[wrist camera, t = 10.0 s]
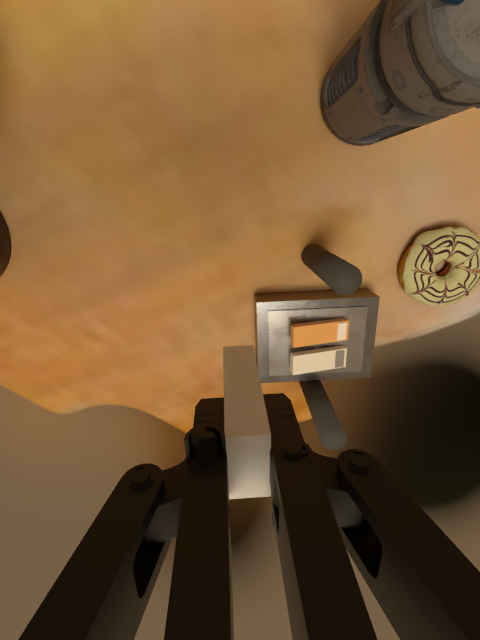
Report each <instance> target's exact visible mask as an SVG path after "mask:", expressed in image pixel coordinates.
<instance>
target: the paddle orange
mask: <svg viewBox="0 0 480 640" xmlns="http://www.w3.org/2000/svg"><path fill="white" fill-rule="evenodd" d="M348 329H349V320H348V319H346V318H339V319H332V320H324V321H316V322H308V323H300V324H292V325H291V346H292V347H293V348H295V347H303V346H310V345H317V344H324V343H331V342H338V341H345V340H348Z"/></svg>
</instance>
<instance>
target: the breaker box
mask: <svg viewBox="0 0 480 640" xmlns="http://www.w3.org/2000/svg"><path fill="white" fill-rule="evenodd" d="M254 295H255V331H256V363H257V368H258V373H259V378H260V383H270V382H290V381H310V380H330V379H350V378H369V377H371V368H372V360H373V350H374V342H375V333H376V324H377V315H378V306H379V296H378V295H376V294H375V293H373V292H372V291H371V290H369V289H357V290H356V291H355V292H354V293H352V294H349V295H340V294H338V293H336V292H335V291H334V290H327V291H306V292H285V293H264V294H254ZM339 318H346V319H348V320H349V329H348V340H345V341H338V342H331V343H324V344H317V345H310V346H303V347H295V348H293V347H292V346H291V325H292V324H300V323H308V322H316V321H324V320H332V319H339ZM342 345H343V346H345V347H346V348H347V355H346V367H342V368H336V369H330V370H323V371H317V372H311V373H304V374H298V375H292V373H291V372H290V353H293V352H300V351H307V350H314V349H321V348H328V347H335V346H342Z"/></svg>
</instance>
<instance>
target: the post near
mask: <svg viewBox="0 0 480 640" xmlns="http://www.w3.org/2000/svg"><path fill="white" fill-rule="evenodd" d="M301 258H302V261H303V263H304V264H305V265H306V266H307V267H308V268H310V269H311V270H312V271H313V272H314V273H315V274H316V275H317V276H318V277H320V278H321V279H322V280H323V281H324V282H325V283H326V284H327V285H328V286H329V287H331V288H332V289H333V290H334V291H335V292H336V293H338V294H340V295H349V294H352V293H354V292H355V291H356V290H357V289H358V288H359V286H360V285H361V282H362V275H361V272H360V270H359V269H358V268H357V267H355V266H354V265H352V264H350V263H348V262H347V261H345V260H343V259H341V258H339V257H338V256H336V255H334V254H332V253H330V252H329V251H327V250H325V249H323V248H322V247H320V246H318V245H315V244H312V245H308V246H307V247H305V248H304V250H303V252H302V255H301Z"/></svg>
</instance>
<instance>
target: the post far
mask: <svg viewBox="0 0 480 640" xmlns="http://www.w3.org/2000/svg"><path fill="white" fill-rule="evenodd" d="M299 383H300V385H301V388H302V391H303V394H304V396H305V399H306V402H307V404H308V407H309V410H310V413H311V415H312V418H313V421H314V423H315V426H316V429H317V432H318V435H319V437H320V440H321V443H322V445H323V447H324V448H326V449H328V450H338V449H340V448H342V447H343V446H344V445H345V443H346V442H347V436H346V433H345V431H344V429H343V427H342V425H341V423H340V421H339V419H338V417H337V415H336V413H335V410H334V408H333V406H332V404H331V402H330V400H329V398H328V396H327V394H326V392H325V390H324V388H323V386H322V383H321V382H320V380H310V381H299Z"/></svg>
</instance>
